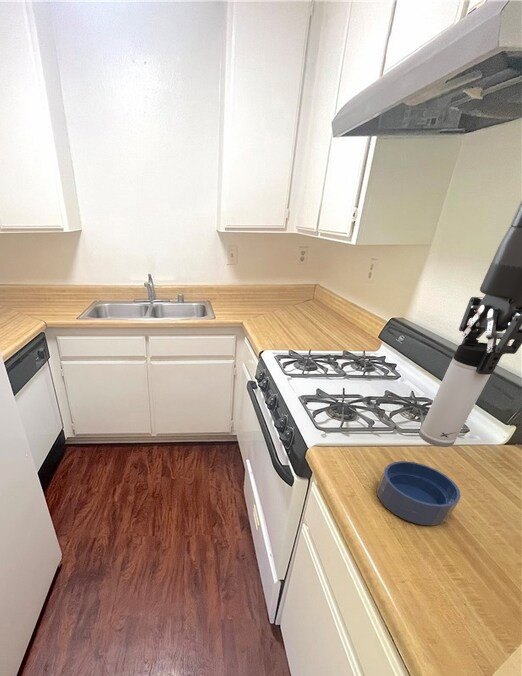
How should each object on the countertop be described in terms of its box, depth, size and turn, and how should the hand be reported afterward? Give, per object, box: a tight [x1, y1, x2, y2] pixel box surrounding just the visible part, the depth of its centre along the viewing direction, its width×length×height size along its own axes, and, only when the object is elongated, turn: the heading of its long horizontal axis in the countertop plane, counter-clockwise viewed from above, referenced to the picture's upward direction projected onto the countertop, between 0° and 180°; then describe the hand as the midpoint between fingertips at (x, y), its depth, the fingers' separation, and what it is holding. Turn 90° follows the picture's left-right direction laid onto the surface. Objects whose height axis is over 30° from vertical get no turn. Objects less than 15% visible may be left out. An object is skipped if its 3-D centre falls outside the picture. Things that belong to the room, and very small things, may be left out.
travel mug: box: [418, 341, 492, 448], centre depth 65 cm, size 6×7×20 cm
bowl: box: [376, 460, 462, 526], centre depth 75 cm, size 14×14×6 cm
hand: (472, 365), depth 62 cm, fingers closed on travel mug, 6 cm apart
